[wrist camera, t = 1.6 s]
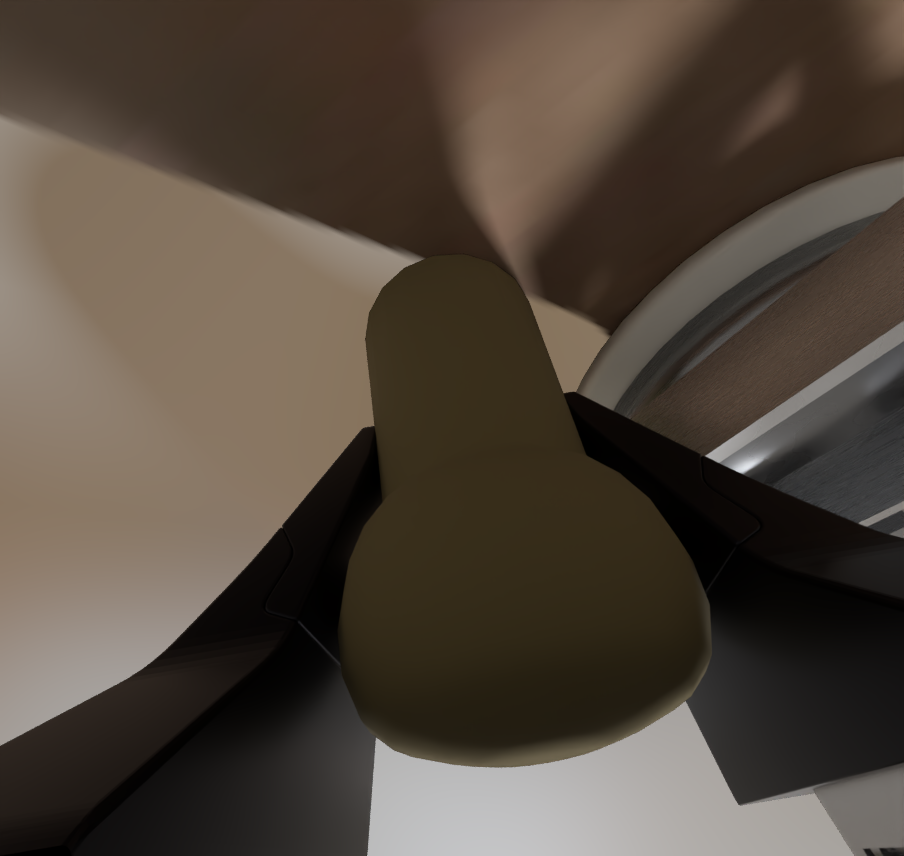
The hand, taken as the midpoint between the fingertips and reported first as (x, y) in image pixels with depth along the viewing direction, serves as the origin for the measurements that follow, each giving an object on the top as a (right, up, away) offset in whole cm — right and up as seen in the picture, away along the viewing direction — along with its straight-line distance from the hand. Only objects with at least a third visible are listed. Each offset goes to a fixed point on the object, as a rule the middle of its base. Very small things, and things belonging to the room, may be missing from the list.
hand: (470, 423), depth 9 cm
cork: (0, +3, +4) cm, 5 cm away
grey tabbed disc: (+14, 0, +6) cm, 15 cm away
